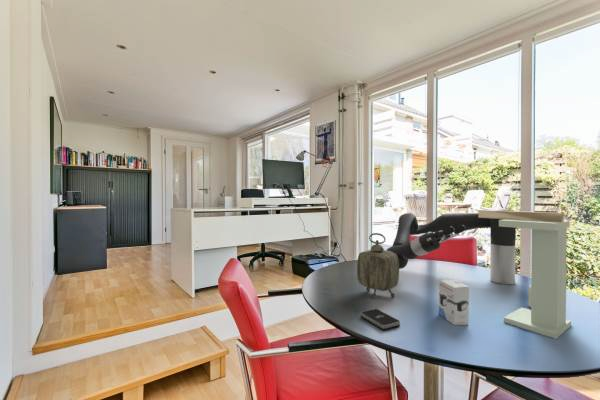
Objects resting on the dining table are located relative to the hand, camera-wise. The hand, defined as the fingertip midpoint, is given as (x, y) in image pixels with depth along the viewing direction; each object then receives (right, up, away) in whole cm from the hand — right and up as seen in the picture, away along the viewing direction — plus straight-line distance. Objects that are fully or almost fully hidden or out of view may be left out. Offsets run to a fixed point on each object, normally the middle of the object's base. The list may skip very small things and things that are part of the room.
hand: (459, 228), depth 106 cm
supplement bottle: (+24, -28, -7) cm, 37 cm away
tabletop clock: (-30, -28, +6) cm, 41 cm away
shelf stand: (+12, -28, -18) cm, 35 cm away
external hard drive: (-35, -29, -17) cm, 48 cm away
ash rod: (+10, +4, -15) cm, 19 cm away
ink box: (-11, -28, -16) cm, 34 cm away
